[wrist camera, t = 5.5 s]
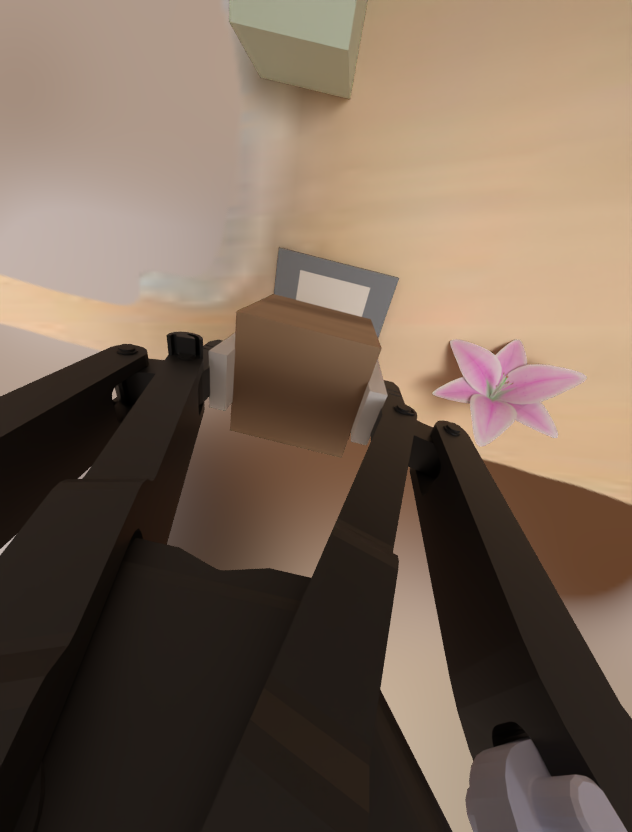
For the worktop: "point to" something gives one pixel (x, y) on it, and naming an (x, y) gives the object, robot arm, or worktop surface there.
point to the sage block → (302, 40)
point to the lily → (505, 389)
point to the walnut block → (300, 372)
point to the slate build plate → (334, 285)
